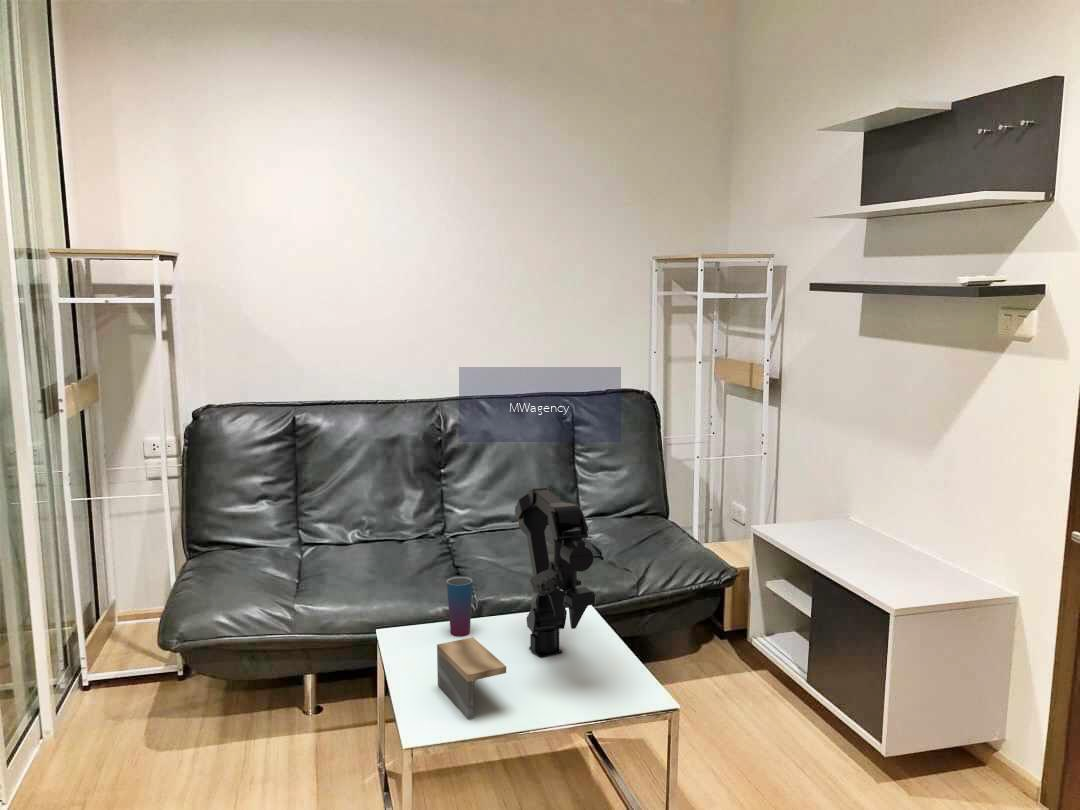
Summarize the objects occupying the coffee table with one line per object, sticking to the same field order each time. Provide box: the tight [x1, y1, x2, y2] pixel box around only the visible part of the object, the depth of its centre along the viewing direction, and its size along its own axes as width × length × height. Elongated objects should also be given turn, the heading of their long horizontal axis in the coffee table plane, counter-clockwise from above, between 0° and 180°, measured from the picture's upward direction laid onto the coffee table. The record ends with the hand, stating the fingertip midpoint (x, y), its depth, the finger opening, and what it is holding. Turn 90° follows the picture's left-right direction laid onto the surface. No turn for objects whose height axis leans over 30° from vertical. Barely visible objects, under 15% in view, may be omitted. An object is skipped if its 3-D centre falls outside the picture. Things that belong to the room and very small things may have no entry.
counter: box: [436, 636, 507, 721], centre depth 191 cm, size 9×18×10 cm, turn 28°
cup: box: [446, 576, 474, 638], centre depth 226 cm, size 7×7×15 cm
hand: (565, 622), depth 201 cm, fingers open, 8 cm apart
